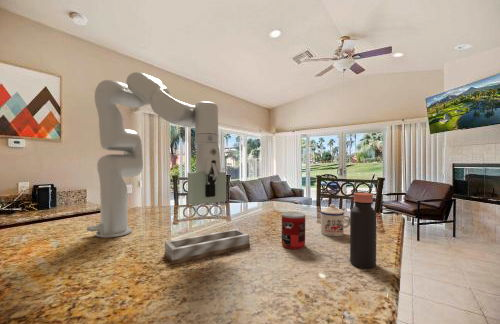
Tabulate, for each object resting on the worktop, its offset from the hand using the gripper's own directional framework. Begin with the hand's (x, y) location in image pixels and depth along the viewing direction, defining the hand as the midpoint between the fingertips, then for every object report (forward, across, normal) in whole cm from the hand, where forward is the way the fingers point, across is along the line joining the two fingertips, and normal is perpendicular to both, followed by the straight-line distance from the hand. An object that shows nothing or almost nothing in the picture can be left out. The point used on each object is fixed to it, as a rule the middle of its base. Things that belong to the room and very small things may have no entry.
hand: (207, 195), depth 82 cm
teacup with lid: (+18, -12, -50) cm, 55 cm away
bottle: (+18, -35, -32) cm, 51 cm away
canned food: (+18, -13, -26) cm, 34 cm away
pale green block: (+2, 0, 0) cm, 2 cm away
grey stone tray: (+18, -1, 0) cm, 18 cm away
